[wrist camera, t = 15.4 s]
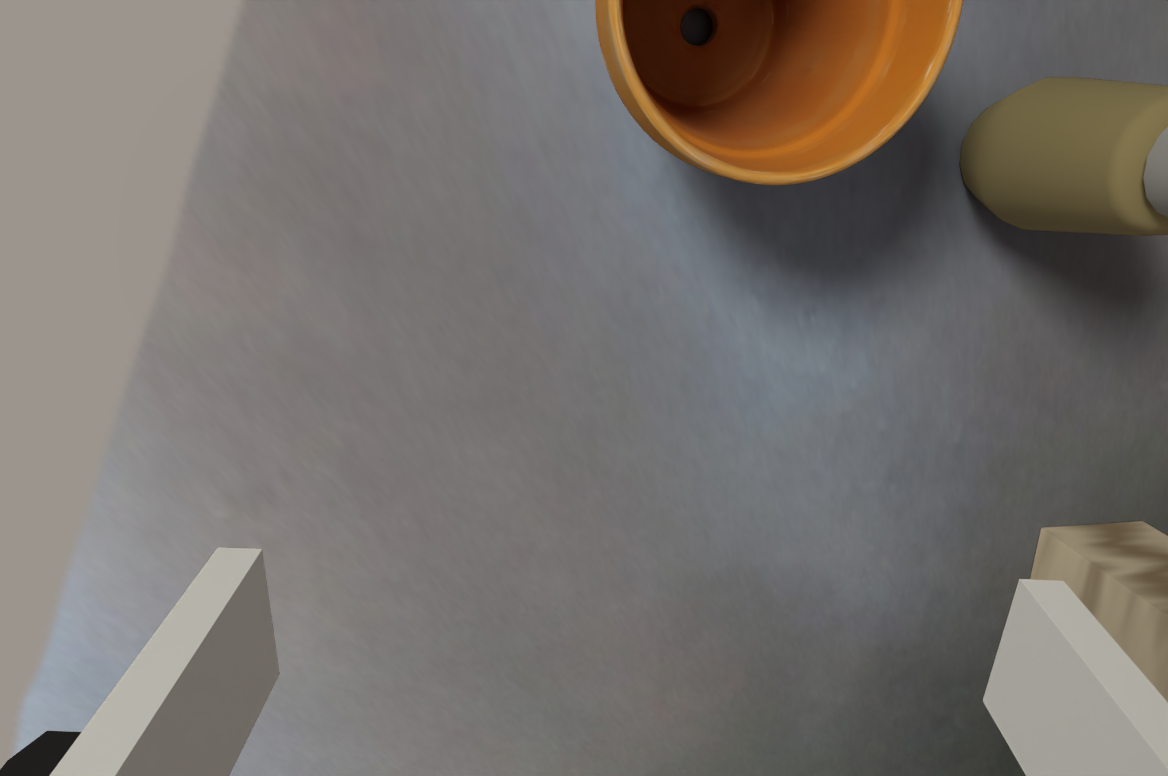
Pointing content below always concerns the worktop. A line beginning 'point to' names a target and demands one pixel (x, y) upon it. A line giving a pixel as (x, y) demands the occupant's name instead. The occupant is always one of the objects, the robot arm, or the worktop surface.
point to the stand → (1116, 585)
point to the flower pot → (775, 79)
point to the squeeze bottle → (1073, 157)
